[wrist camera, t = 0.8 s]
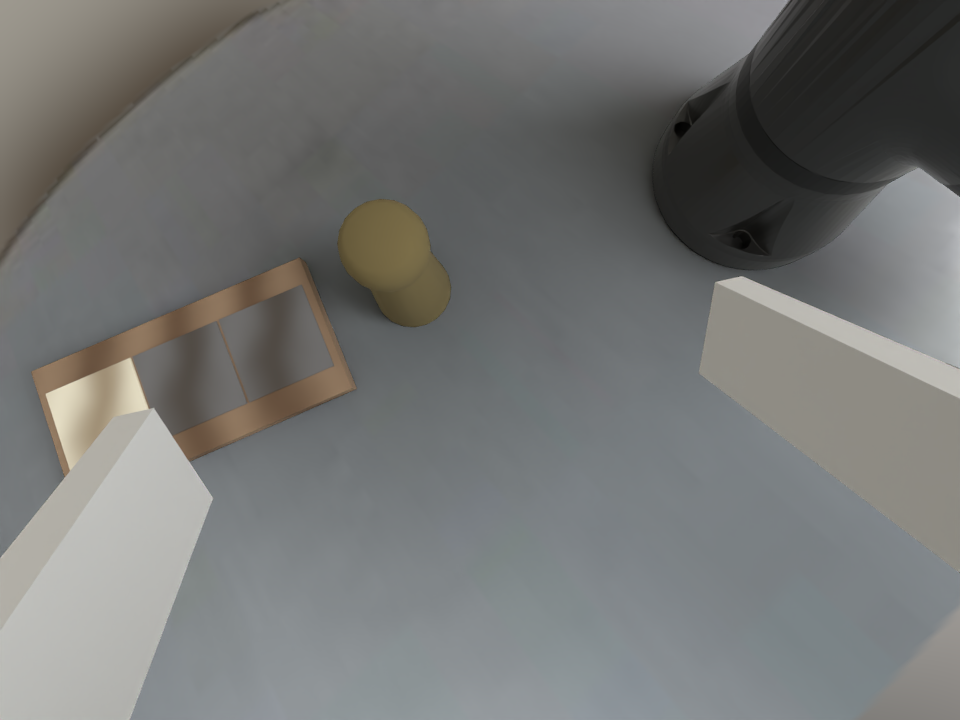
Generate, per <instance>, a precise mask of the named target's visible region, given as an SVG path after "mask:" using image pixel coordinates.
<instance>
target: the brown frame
mask: <svg viewBox="0 0 960 720" xmlns="http://www.w3.org/2000/svg"><path fill="white" fill-rule="evenodd" d="M31 373H32V376H33V379H34V382H35V385H36V389H37V392H38V395H39V398H40V401H41V404H42V407H43V410H44V414H45V417H46V420H47V423H48V426H49V429H50V432H51V436H52V439H53V442H54V445H55V448H56V451H57V454H58V457H59V461H60V464H61V467H62V470H63V473H64V476H65V477H66V476H67V474H68V473H69V472H70V471H71V469H72V468H73V467H74V466H75V464H76V463H77V462H78V461H79V459H80V458H81V457H82V456H83V454H84V453H85V452H86V451H87V449H88V448H89V447H90V446H91V444H92V443H93V442H94V441H95V439H96V438H97V437H98V436H99V434H100V433H101V432H102V431H103V429H104V428H105V427H106V426H107V424H108V423H109V422H110V421H111V419H112V418H113V417H116V416H120V415H125V414H129V413H133V412H138V411H142V410H147V409H151V408H154V409H155V411H156V412H157V414H158V415H159V417H160V418H161V420H162V421H163V423H164V424H165V426H166V427H167V429H168V430H169V432H170V433H171V435H172V436H173V438H174V439H175V441H176V443H177V444H178V446H179V447H180V449H181V450H182V452H183V453H184V455H185V456H186V458H187V459H188V461H189V462H190V461H192V460H194V459H197V458H199V457H201V456H204V455H206V454H208V453H211V452H213V451H215V450H217V449H220V448H222V447H224V446H227V445H229V444H231V443H234V442H236V441H238V440H240V439H243V438H245V437H247V436H250V435H252V434H254V433H257V432H259V431H261V430H263V429H266V428H268V427H270V426H273V425H275V424H277V423H280V422H282V421H284V420H286V419H289V418H291V417H293V416H296V415H298V414H300V413H303V412H305V411H307V410H309V409H312V408H314V407H316V406H319V405H321V404H323V403H326V402H328V401H330V400H332V399H335V398H337V397H339V396H342V395H344V394H346V393H349V392H351V391H353V390H355V389H357V388H356V385H355V383H354V380H353V378H352V375H351V373H350V370H349V368H348V366H347V363H346V361H345V358H344V356H343V353H342V351H341V348H340V346H339V343H338V341H337V338H336V336H335V333H334V331H333V328H332V326H331V323H330V321H329V318H328V316H327V314H326V311H325V309H324V306H323V304H322V301H321V299H320V296H319V294H318V291H317V289H316V286H315V284H314V281H313V279H312V276H311V274H310V271H309V269H308V266H307V264H306V262H304V261H303V260H302V259H301V258H297V259H295V260H292V261H290V262H288V263H285V264H283V265H281V266H278V267H276V268H274V269H271V270H269V271H267V272H264V273H262V274H260V275H257V276H255V277H253V278H250V279H248V280H245V281H243V282H241V283H238V284H236V285H234V286H231V287H229V288H227V289H224V290H222V291H220V292H217V293H215V294H213V295H210V296H208V297H205V298H203V299H201V300H198V301H196V302H194V303H191V304H189V305H187V306H184V307H182V308H180V309H177V310H175V311H173V312H170V313H168V314H166V315H163V316H161V317H158V318H156V319H154V320H151V321H149V322H147V323H144V324H142V325H140V326H137V327H135V328H133V329H130V330H128V331H126V332H123V333H121V334H119V335H116V336H114V337H111V338H109V339H107V340H104V341H102V342H100V343H97V344H95V345H93V346H90V347H88V348H86V349H83V350H81V351H79V352H76V353H74V354H71V355H69V356H67V357H64V358H62V359H60V360H57V361H55V362H53V363H50V364H48V365H46V366H43V367H41V368H39V369H36V370H34V371H32V372H31Z"/></svg>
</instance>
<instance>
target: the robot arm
mask: <svg viewBox="0 0 960 720" xmlns="http://www.w3.org/2000/svg"><path fill="white" fill-rule="evenodd" d="M917 168H921V169H922V170H924V171H925V172H926V173H928V174H929V175H931V176H932V177H933V178H934V179H936V180H937V181H938V182H940V183H942V184H943V185H945V186H946V187H947V188H949V189H950V190H951V191H953V192H954V193H955V194H957V195H958V196H960V0H789V1H788V3H787V4H786V5H785V7H784V8H783V9H782V11H781V12H780V13H779V15H778V16H777V17H776V19H775V20H774V21H773V23H772V24H771V25H770V27H769V28H768V29H767V31H766V32H765V33H764V35H763V36H762V38H761V39H760V40H759V42H758V43H757V44H756V46H755V47H754V48H753V50H752V51H751V52H750V53H749V54H748V55H746V56H745V57H744V58H742V59H741V60H739V61H738V62H737V63H735V64H734V65H732V66H731V67H730V68H728V69H727V70H726V71H724V72H723V73H721V74H720V75H719V76H717V77H716V78H714V79H713V80H712V81H710V82H709V83H707V84H706V85H705V86H703V87H702V88H701V89H699V90H698V91H697V92H696V93H694V94H693V95H692V96H691V97H690V98H689V99H688V100H687V101H686V102H685V103H684V105H683V106H682V107H681V108H680V109H679V111H678V112H677V114H676V115H675V117H674V118H673V120H672V121H671V123H670V124H669V126H668V127H667V129H666V130H665V132H664V134H663V136H662V137H661V140H660V142H659V144H658V147H657V150H656V153H655V157H654V163H653V187H654V192H655V197H656V200H657V203H658V206H659V209H660V211H661V213H662V215H663V217H664V219H665V220H666V222H667V224H668V225H669V227H670V228H671V229H672V231H673V232H674V233H675V234H676V235H677V236H678V238H679V239H680V240H682V241H683V242H684V243H685V244H686V245H687V246H688V247H689V248H691V249H692V250H694V251H695V252H696V253H698V254H700V255H701V256H703V257H705V258H707V259H709V260H711V261H713V262H716V263H718V264H721V265H725V266H728V267H732V268H738V269H746V270H762V269H770V268H775V267H780V266H783V265H786V264H789V263H791V262H794V261H796V260H798V259H800V258H802V257H804V256H807V255H809V254H811V253H813V252H815V251H817V250H819V249H820V248H822V247H824V246H825V245H827V244H828V243H830V242H831V241H832V240H834V239H835V238H836V237H837V236H839V235H840V234H841V233H842V232H843V231H844V230H845V229H846V228H847V227H848V226H849V225H850V224H851V223H852V221H853V220H854V219H855V218H856V217H857V216H858V215H859V214H860V213H861V212H862V211H863V210H864V209H865V208H866V206H867V205H868V204H869V203H870V202H871V201H872V200H873V199H874V198H875V197H876V196H877V195H878V194H879V192H880V191H881V190H882V189H883V188H884V187H885V186H886V185H887V184H888V183H890V182H892V181H894V180H896V179H898V178H899V177H901V176H903V175H905V174H907V173H908V172H910V171H913V170H915V169H917ZM699 374H701V375H702V376H703V377H705V378H706V379H707V380H709V381H710V382H711V383H712V384H714V385H715V386H716V387H718V388H719V389H720V390H722V391H723V392H724V393H725V394H727V395H728V396H729V397H731V398H732V399H733V400H735V401H736V402H737V403H739V404H740V405H741V406H742V407H744V408H745V409H746V410H748V411H749V412H750V413H752V414H753V415H754V416H756V417H757V418H758V419H759V420H761V421H762V422H763V423H765V424H766V425H767V426H769V427H770V428H771V429H773V430H774V431H775V432H776V433H778V434H779V435H780V436H782V437H783V438H784V439H786V440H787V441H788V442H789V443H791V444H792V445H793V446H795V447H796V448H797V449H799V450H800V451H801V452H803V453H804V454H805V455H806V456H808V457H809V458H810V459H812V460H813V461H814V462H816V463H817V464H818V465H820V466H821V467H822V468H823V469H825V470H826V471H827V472H829V473H830V474H831V475H833V476H834V477H835V478H837V479H838V480H839V481H840V482H842V483H843V484H844V485H846V486H847V487H848V488H850V489H851V490H852V491H853V492H855V493H856V494H857V495H859V496H860V497H861V498H863V499H864V500H865V501H867V502H868V503H869V504H870V505H872V506H873V507H874V508H876V509H877V510H878V511H880V512H881V513H882V514H884V515H885V516H886V517H887V518H889V519H890V520H891V521H893V522H894V523H895V524H897V525H898V526H899V527H901V528H902V529H903V530H904V531H906V532H907V533H908V534H910V535H911V536H912V537H914V538H915V539H916V540H917V541H919V542H920V543H921V544H923V545H924V546H925V547H927V548H928V549H929V550H931V551H932V552H933V553H934V554H936V555H937V556H938V557H940V558H941V559H942V560H944V561H945V562H946V563H948V564H949V565H950V566H951V567H953V568H954V569H955V570H957V571H958V572H959V573H960V369H959V368H957V367H954V366H952V365H950V364H947V363H944V362H942V361H939V360H937V359H935V358H932V357H930V356H928V355H925V354H923V353H921V352H918V351H916V350H914V349H911V348H909V347H906V346H904V345H902V344H899V343H897V342H895V341H892V340H890V339H888V338H885V337H883V336H881V335H878V334H876V333H874V332H871V331H869V330H867V329H864V328H862V327H860V326H857V325H855V324H853V323H850V322H848V321H846V320H843V319H841V318H839V317H836V316H834V315H832V314H829V313H827V312H825V311H822V310H820V309H818V308H815V307H813V306H811V305H808V304H806V303H804V302H801V301H799V300H797V299H794V298H792V297H790V296H787V295H785V294H782V293H780V292H778V291H775V290H773V289H771V288H768V287H766V286H764V285H761V284H759V283H757V282H754V281H752V280H750V279H747V278H745V277H743V276H740V277H736V278H731V279H727V280H722V281H718V282H715V286H714V291H713V297H712V303H711V308H710V314H709V319H708V325H707V330H706V336H705V342H704V347H703V353H702V358H701V364H700V369H699ZM212 499H213V497H212V496H211V494H210V493H209V491H208V490H207V488H206V487H205V485H204V484H203V482H202V481H201V479H200V478H199V476H198V475H197V473H196V471H195V470H194V468H193V467H192V465H191V464H190V462H189V461H188V459H187V458H186V456H185V455H184V453H183V452H182V450H181V449H180V447H179V446H178V444H177V443H176V441H175V439H174V438H173V436H172V435H171V433H170V432H169V430H168V429H167V427H166V426H165V424H164V423H163V421H162V420H161V418H160V417H159V415H158V414H157V412H156V411H155V409H154V408H151V409H147V410H142V411H138V412H133V413H129V414H125V415H120V416H116V417H113V418H112V419H111V421H110V422H109V423H108V424H107V426H106V427H105V428H104V429H103V431H102V432H101V433H100V434H99V436H98V437H97V438H96V439H95V441H94V442H93V443H92V444H91V446H90V447H89V448H88V449H87V451H86V452H85V453H84V454H83V456H82V457H81V458H80V459H79V461H78V462H77V463H76V464H75V466H74V467H73V468H72V469H71V471H70V472H69V473H68V474H67V476H66V477H65V478H64V479H63V481H62V482H61V483H60V484H59V486H58V487H57V488H56V489H55V491H54V492H53V493H52V494H51V496H50V497H49V498H48V499H47V501H46V502H45V503H44V504H43V506H42V507H41V508H40V509H39V511H38V512H37V513H36V514H35V516H34V517H33V518H32V519H31V521H30V522H29V523H28V524H27V526H26V527H25V528H24V529H23V531H22V532H21V533H20V534H19V536H18V537H17V538H16V539H15V540H14V542H13V543H12V544H11V545H10V547H9V548H8V549H7V550H6V552H5V553H4V554H3V555H2V557H1V558H0V720H130V718H131V715H132V713H133V710H134V707H135V705H136V702H137V699H138V697H139V694H140V691H141V689H142V686H143V683H144V681H145V678H146V675H147V673H148V670H149V667H150V665H151V662H152V659H153V657H154V654H155V651H156V649H157V646H158V643H159V641H160V638H161V635H162V633H163V630H164V627H165V625H166V622H167V619H168V617H169V614H170V611H171V609H172V606H173V603H174V601H175V598H176V595H177V593H178V590H179V587H180V585H181V582H182V579H183V577H184V574H185V571H186V569H187V566H188V563H189V561H190V558H191V555H192V553H193V550H194V547H195V545H196V542H197V539H198V537H199V534H200V531H201V529H202V526H203V523H204V521H205V518H206V515H207V513H208V510H209V507H210V505H211V502H212Z"/></svg>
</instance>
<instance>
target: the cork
mask: <svg viewBox="0 0 960 720" xmlns="http://www.w3.org/2000/svg"><path fill="white" fill-rule="evenodd" d="M337 244H338V250H339V255H340V259H341V262H342V264H343V266H344V267H345V269H346V271H347V273H348V274H349V275H350V276H352V277H353V278H354V279H355V280H356V281H357V282H358V283H359V284H360V285H362V286H364V287H367V288H369V289H370V290H371V292H372V294H373V296H374V298H375V300H376V302H377V304H378V306H379V307H380V309H381V311H382V313H383V314H384V315H385V316H386V317H387V318H389V319H390V320H391V321H392V322H394V323H397V324H399V325H401V326H408V327H418V326H422V325H426V324H428V323H430V322H432V321H433V320H435V319H437V318H438V317H439V316H440V314H441V313H442V312H443V311H444V310H445V308H446V306H447V304H448V302H449V300H450V292H451V285H450V280H449V276H448V274H447V272H446V271H445V269H444V267H443V266H442V264H441V263H440V262H439V261H438V260H437V259H436V257H435V256H434V255H433V254H432V253H431V251H430V241H429V236H428V232H427V229H426V227H425V225H424V224H423V222H422V220H421V218H420V217H419V216H418V215H417V214H416V213H414V212H413V211H412V210H411V209H410V208H409V207H407V206H406V205H404V204H402V203H399V202H397V201H394V200H386V199H378V200H373V201H368V202H366V203H364V204H362V205H360V206H358V207H357V208H355V209H354V210H353V211H352V212H351V213H350V214H349V215H348V216H347V217H346V218H345V220H344V222H343V224H342V226H341V228H340V230H339V236H338V243H337Z"/></svg>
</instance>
